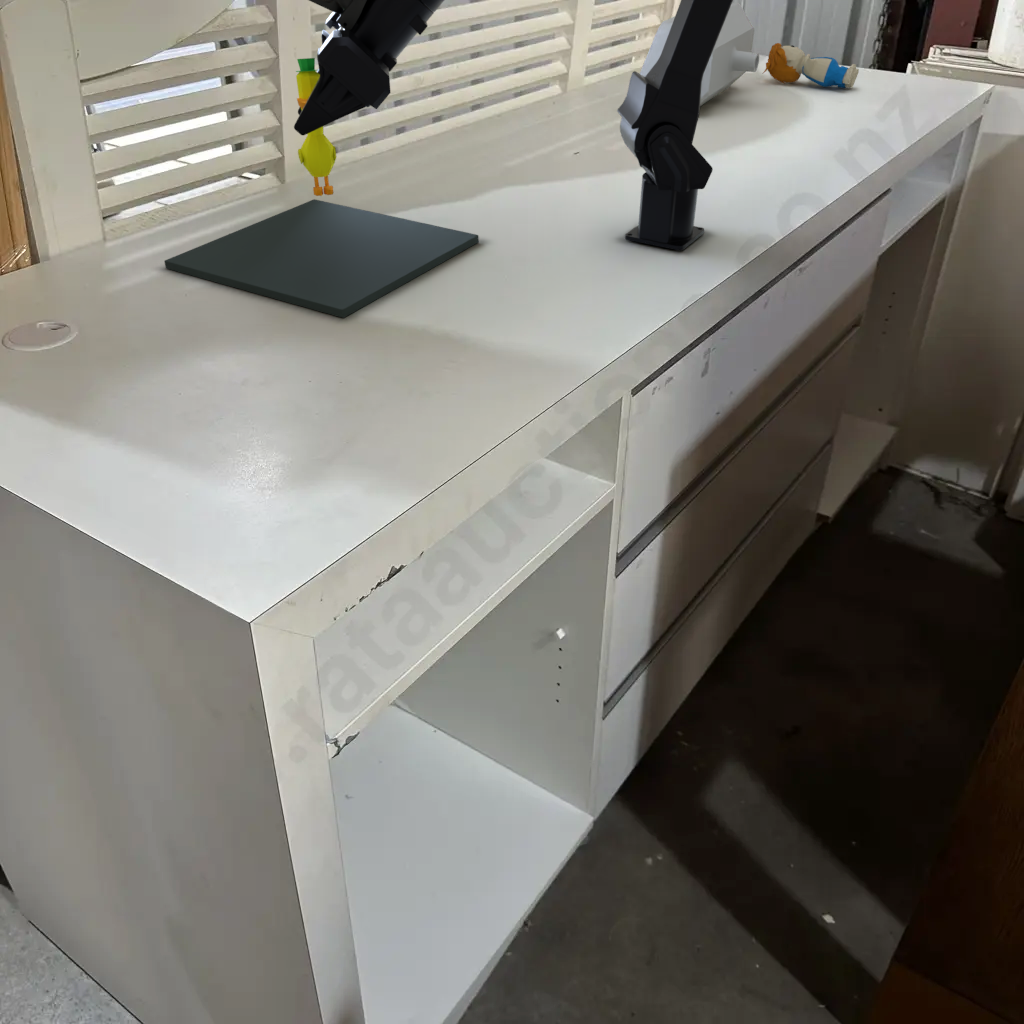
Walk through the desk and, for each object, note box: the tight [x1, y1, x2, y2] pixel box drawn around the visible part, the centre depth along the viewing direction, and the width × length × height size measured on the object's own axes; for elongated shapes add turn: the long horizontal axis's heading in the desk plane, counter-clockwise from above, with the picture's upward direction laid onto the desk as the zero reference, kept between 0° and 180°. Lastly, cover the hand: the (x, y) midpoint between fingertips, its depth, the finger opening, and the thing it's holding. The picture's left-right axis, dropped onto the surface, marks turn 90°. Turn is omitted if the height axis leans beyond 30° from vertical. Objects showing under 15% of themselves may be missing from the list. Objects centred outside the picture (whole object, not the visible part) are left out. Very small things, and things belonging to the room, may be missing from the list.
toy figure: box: [295, 57, 337, 197], centre depth 90 cm, size 7×4×12 cm, turn 16°
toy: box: [762, 42, 860, 89], centre depth 158 cm, size 12×6×15 cm
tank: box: [639, 2, 760, 107], centre depth 147 cm, size 25×16×12 cm, turn 153°
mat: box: [164, 198, 480, 319], centre depth 95 cm, size 22×22×1 cm
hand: (299, 123), depth 89 cm, fingers closed on toy figure, 5 cm apart
